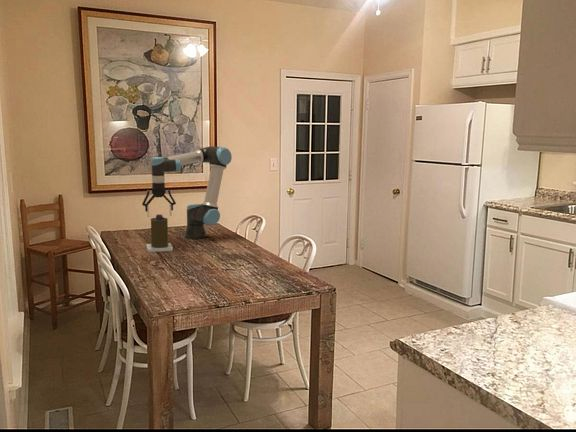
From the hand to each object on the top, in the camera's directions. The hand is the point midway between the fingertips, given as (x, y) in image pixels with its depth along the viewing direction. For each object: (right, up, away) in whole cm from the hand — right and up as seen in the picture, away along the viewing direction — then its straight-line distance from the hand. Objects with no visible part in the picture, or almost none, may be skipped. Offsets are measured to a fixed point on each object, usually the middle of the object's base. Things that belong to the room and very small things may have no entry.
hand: (159, 216), depth 304 cm
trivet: (-1, -20, +3) cm, 21 cm away
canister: (-1, -19, +3) cm, 19 cm away
